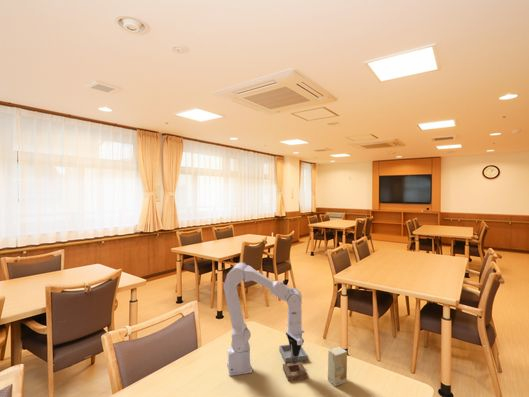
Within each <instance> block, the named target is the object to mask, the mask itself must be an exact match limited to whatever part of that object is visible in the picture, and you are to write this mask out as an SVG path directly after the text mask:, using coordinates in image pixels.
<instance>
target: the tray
mask: <svg viewBox="0 0 529 397" xmlns="http://www.w3.org/2000/svg"><path fill="white" fill-rule="evenodd" d="M278 348H279V354H280V355H281V357H282V360H283V362H284V364H287V363H292V362H291V350H290V345H289V344H283V345H279V347H278ZM298 362H301V363H303V362H308V354H307V352H306V351H305V348H304V347H303V345H302V346H301V348H300V352H299V356H298Z"/></svg>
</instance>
